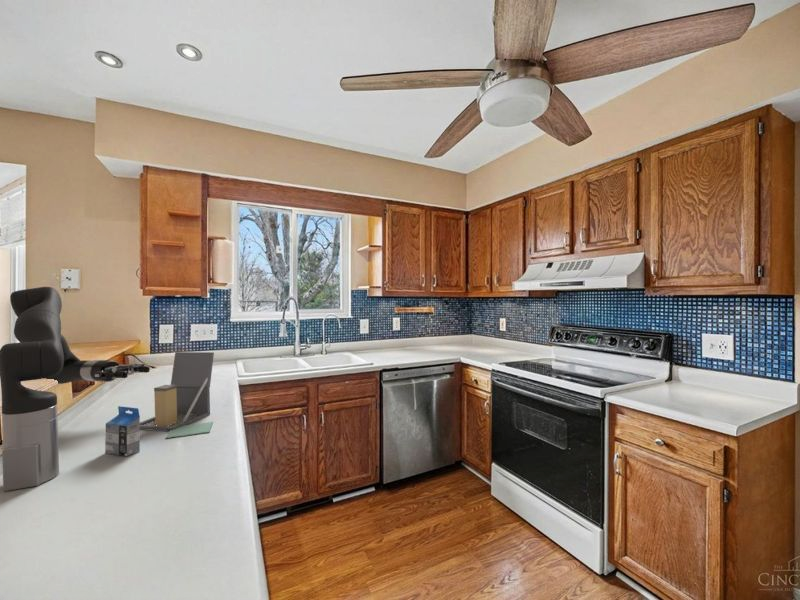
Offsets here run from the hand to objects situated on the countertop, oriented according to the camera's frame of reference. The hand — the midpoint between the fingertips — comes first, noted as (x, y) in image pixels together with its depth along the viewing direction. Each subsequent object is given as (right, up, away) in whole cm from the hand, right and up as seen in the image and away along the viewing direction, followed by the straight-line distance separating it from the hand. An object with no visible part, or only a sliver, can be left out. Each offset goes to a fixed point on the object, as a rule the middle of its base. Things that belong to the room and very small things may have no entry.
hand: (138, 371), depth 125 cm
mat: (+24, -17, -9) cm, 31 cm away
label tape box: (+14, -18, -25) cm, 34 cm away
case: (+12, -18, +2) cm, 21 cm away
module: (+11, -18, -2) cm, 21 cm away
